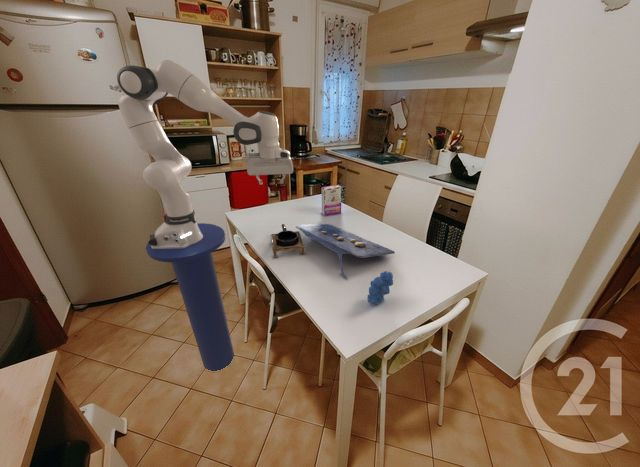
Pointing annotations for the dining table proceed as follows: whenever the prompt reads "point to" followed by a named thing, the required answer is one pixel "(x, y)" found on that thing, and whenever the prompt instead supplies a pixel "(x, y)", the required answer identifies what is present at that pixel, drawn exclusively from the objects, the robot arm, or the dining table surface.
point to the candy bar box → (331, 200)
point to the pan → (286, 238)
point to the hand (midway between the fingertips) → (271, 183)
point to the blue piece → (343, 242)
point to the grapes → (380, 287)
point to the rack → (279, 248)
